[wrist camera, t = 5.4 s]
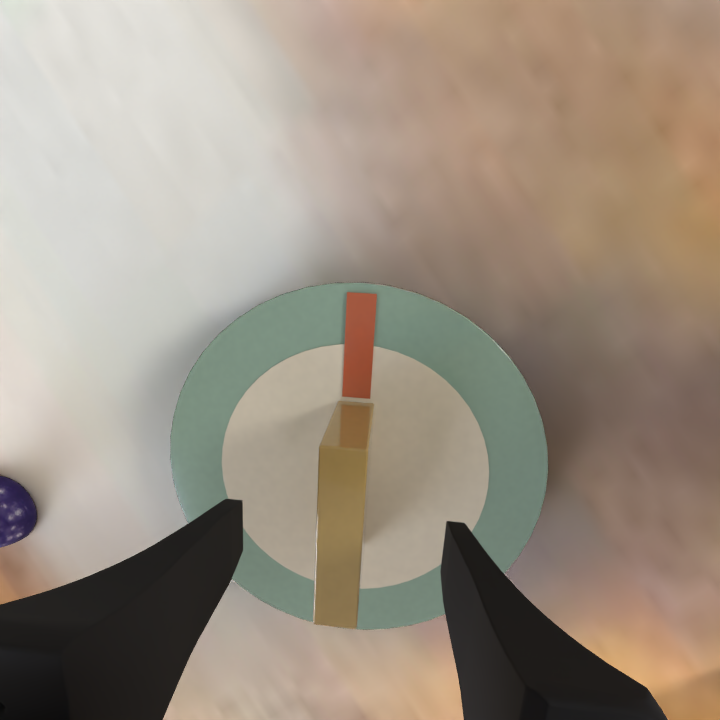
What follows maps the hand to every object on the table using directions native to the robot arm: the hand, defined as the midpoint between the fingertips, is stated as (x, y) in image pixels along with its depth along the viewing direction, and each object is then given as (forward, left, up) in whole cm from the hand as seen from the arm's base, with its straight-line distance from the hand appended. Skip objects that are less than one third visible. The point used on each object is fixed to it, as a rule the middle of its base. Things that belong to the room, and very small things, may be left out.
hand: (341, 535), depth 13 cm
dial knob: (0, 0, -5) cm, 5 cm away
